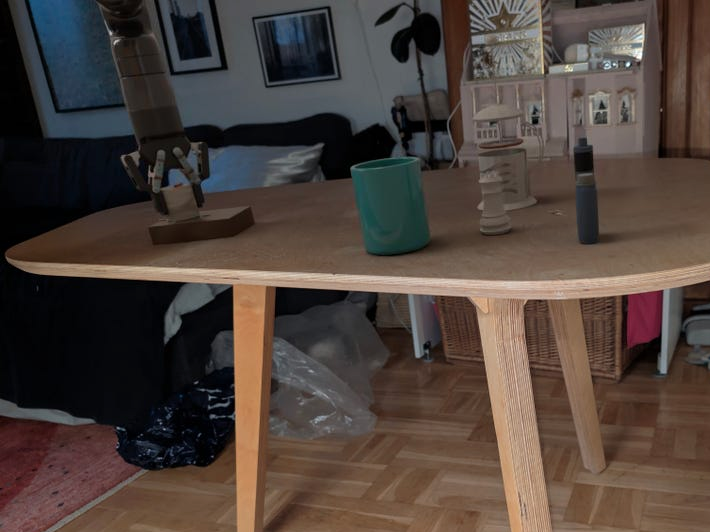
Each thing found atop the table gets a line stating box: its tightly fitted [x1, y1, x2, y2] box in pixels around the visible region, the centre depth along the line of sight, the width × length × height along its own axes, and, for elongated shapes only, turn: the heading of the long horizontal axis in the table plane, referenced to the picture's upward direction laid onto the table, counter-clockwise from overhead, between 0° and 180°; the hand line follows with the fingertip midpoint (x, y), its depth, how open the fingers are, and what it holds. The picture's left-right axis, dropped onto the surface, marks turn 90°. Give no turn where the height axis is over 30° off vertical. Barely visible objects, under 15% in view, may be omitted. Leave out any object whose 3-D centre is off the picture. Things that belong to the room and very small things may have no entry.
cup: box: [349, 156, 431, 256], centre depth 94 cm, size 9×12×11 cm
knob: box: [160, 182, 200, 221], centre depth 118 cm, size 5×5×6 cm
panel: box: [147, 205, 255, 246], centre depth 120 cm, size 15×10×3 cm
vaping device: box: [572, 137, 600, 245], centre depth 85 cm, size 3×5×12 cm, turn 175°
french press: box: [471, 35, 545, 211], centre depth 108 cm, size 10×12×25 cm
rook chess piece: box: [478, 171, 512, 236], centre depth 96 cm, size 4×4×8 cm
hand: (182, 210), depth 119 cm, fingers open, 5 cm apart
